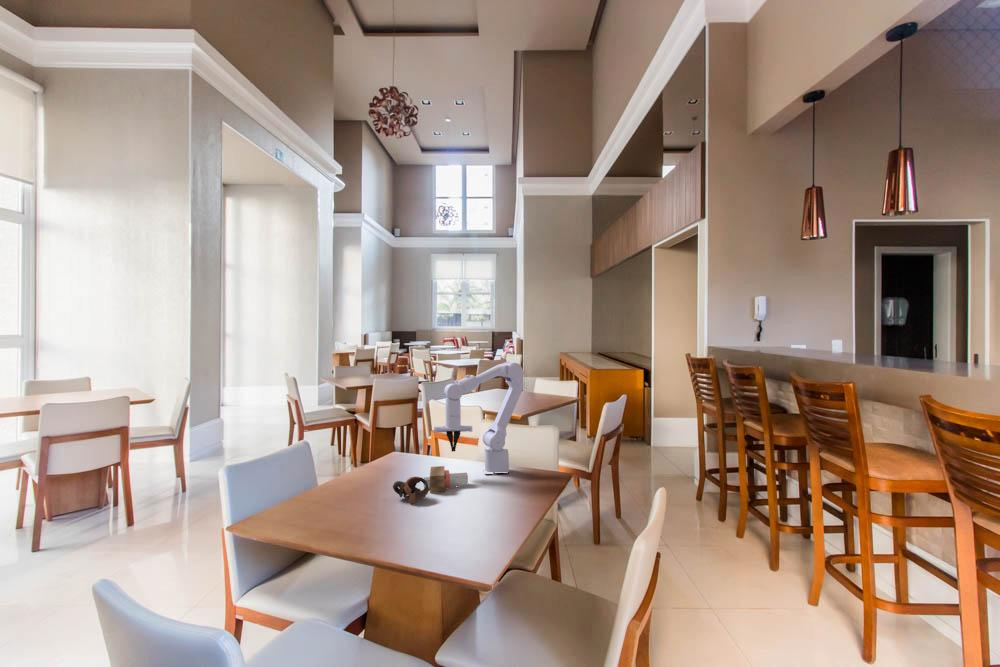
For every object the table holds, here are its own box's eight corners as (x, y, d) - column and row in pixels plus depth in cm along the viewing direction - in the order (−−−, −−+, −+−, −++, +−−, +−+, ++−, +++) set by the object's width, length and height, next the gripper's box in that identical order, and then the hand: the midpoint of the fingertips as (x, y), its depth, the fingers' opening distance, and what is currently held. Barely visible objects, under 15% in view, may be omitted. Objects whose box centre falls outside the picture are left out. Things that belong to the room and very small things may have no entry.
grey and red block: (466, 482, 175) (466, 469, 175) (468, 487, 169) (468, 473, 169) (423, 485, 172) (423, 471, 172) (424, 490, 166) (423, 475, 166)
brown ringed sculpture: (427, 494, 163) (432, 476, 160) (422, 516, 155) (427, 497, 151) (393, 486, 162) (397, 468, 159) (386, 508, 154) (390, 489, 150)
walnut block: (444, 481, 176) (444, 466, 176) (444, 492, 164) (444, 475, 164) (430, 482, 175) (430, 466, 175) (430, 493, 163) (429, 476, 163)
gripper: (471, 413, 187) (471, 447, 187) (434, 414, 185) (434, 449, 185) (472, 416, 180) (472, 451, 180) (433, 417, 178) (434, 453, 178)
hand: (453, 450), depth 182 cm, fingers closed
